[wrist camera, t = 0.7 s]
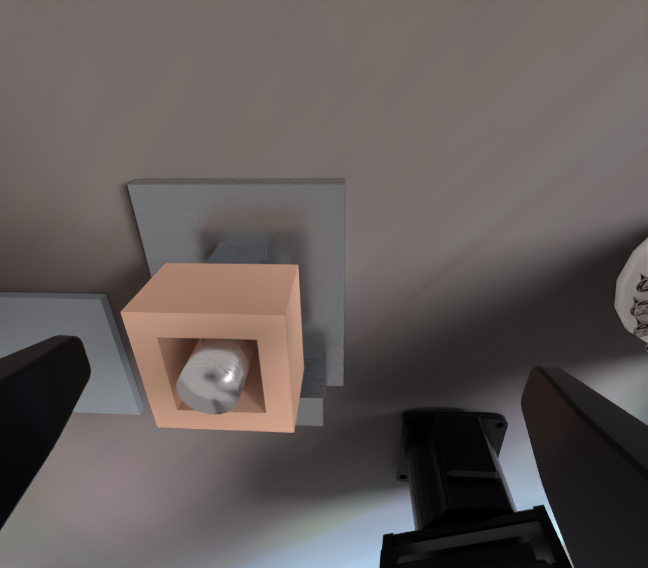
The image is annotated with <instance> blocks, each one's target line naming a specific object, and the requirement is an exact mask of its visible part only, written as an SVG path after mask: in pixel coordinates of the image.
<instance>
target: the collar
mask: <svg viewBox="0 0 648 568" xmlns="http://www.w3.org/2000/svg"><path fill="white" fill-rule="evenodd" d="M121 315H122V319H123V322H124V325H125V328H126V331H127V334H128V337H129V340H130V344H131V347H132V350H133V353H134V356H135V359H136V362H137V365H138V368H139V372H140V375H141V378H142V381H143V384H144V387H145V390H146V393H147V397H148V400H149V403H150V406H151V409H152V412H153V415H154V418H155V421H156V425H157V427H164V428H189V429H215V430H240V431H266V432H291V433H294V430H295V423H296V417H297V411H298V404H299V398H300V391H301V385H302V379H303V372H304V360H303V342H302V324H301V306H300V288H299V269H298V265H289V264H207V263H165V264H164V265H163V266H162V267H161V269H160V270H159V271H158V272H157V273H156V274H155V275H154V276H153V277H152V278H151V279H150V280H149V282H148V283H147V284H146V285H145V286H144V287H143V288H142V289H141V290H140V291H139V292H138V293H137V295H136V296H135V297H134V298H133V299H132V300H131V301H130V302H129V303H128V304H127V305H126V306H125V308H124V309H123V310H122V311H121ZM200 338H209V339H250V340H257V343H258V351H255V353H254V356H253V359H252V362H251V365H250V368H249V371H248V374H247V377H246V380H245V383H244V386H243V389H242V392H241V395H240V398H239V401H238V403H237V405H236V406H235V407H234V408H233V409H232V410H231V411H229V412H226V413H223V414H217V415H212V414H205V413H201V412H198V411H196V410H194V409H192V408H190V407H189V406H187V405H186V404H185V403H184V402H183V401H182V400H181V398H180V397H179V395H178V393H177V389H176V383H177V380H178V378H179V376H180V374H181V372H182V371H183V369H184V367H185V365H186V363H187V361H188V360H189V358H190V356H191V354H192V352H193V350H194V349H195V347H196V345H197V343H198V341H199V340H200Z"/></svg>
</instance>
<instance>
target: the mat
mask: <svg viewBox="0 0 648 568" xmlns="http://www.w3.org/2000/svg"><path fill="white" fill-rule="evenodd" d="M56 335H70V336H77V337H79V338H80V339H81V340H82V342H83V345H84V348H85V351H86V354H87V357H88V360H89V363H90V366H91V375H90V379H89V381H88V383H87V385H86V387H85V389H84V391H83V393H82V395H81V397H80V398H79V400H78V402H77V404H76V406H75V408H74V410H73V412H79V413H106V414H133V415H140V414H141V412H142V411H143V409H144V406H143V403H142V400H141V397H140V394H139V391H138V388H137V385H136V382H135V379H134V376H133V373H132V370H131V367H130V364H129V361H128V358H127V355H126V352H125V349H124V346H123V343H122V340H121V337H120V334H119V331H118V328H117V325H116V322H115V319H114V316H113V313H112V310H111V307H110V304H109V301H108V298H107V295H106V294H91V293H33V292H0V358H2V357H5V356H7V355H10V354H12V353H14V352H17V351H19V350H22V349H24V348H26V347H29V346H31V345H34V344H36V343H38V342H41V341H43V340H46V339H48V338H51V337H53V336H56Z"/></svg>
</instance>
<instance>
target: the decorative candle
mask: <svg viewBox="0 0 648 568" xmlns="http://www.w3.org/2000/svg"><path fill="white" fill-rule="evenodd" d="M614 307H615V309H616V311H617V313H618V315H619V317H620V319H621V321H622V323H623V325H624V327H625V328H626V329H627V330H628V331H629V332H631V333H632V334H634V335H635V336H637V337H639V338H640V339H642V340H644V341H645V342H647V343H648V238H646V239H645V240H644V241H643V242H642V243H641V244H640V245H639V246H638V247H637V248H635V249H634V250H633V252H632V254H631V255H630V257H629V259H628V261H627V262H626V264H625V266H624V268H623V269H622V271H621V273H620V275H619V276H618V278H617V281H616V292H615V302H614ZM645 350H646V351H647V352H648V344H647V345H646V346H645Z"/></svg>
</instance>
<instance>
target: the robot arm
mask: <svg viewBox="0 0 648 568" xmlns="http://www.w3.org/2000/svg"><path fill="white" fill-rule="evenodd" d="M90 375H91V366H90V363H89V360H88V357H87V354H86V351H85V348H84V345H83V342H82V340H81V339H80V338H79V337H77V336H70V335H56V336H53V337H51V338H48V339H46V340H43V341H41V342H38V343H36V344H34V345H31V346H29V347H26V348H24V349H22V350H19V351H17V352H14V353H12V354H10V355H7V356H5V357H2V358H0V531H1V529H2V527H3V526H4V524H5V523H6V521H7V520H8V518H9V517H10V515H11V514H12V512H13V510H14V509H15V507H16V506H17V504H18V503H19V501H20V500H21V498H22V496H23V495H24V493H25V492H26V490H27V489H28V487H29V486H30V484H31V483H32V481H33V479H34V478H35V476H36V475H37V473H38V472H39V470H40V469H41V467H42V465H43V464H44V462H45V461H46V459H47V458H48V456H49V454H50V453H51V451H52V449H53V448H54V446H55V444H56V442H57V441H58V439H59V437H60V435H61V433H62V431H63V429H64V427H65V426H66V424H67V422H68V420H69V418H70V416H71V414H72V412H73V410H74V408H75V406H76V404H77V402H78V400H79V398H80V397H81V395H82V393H83V391H84V389H85V387H86V385H87V383H88V381H89V379H90ZM521 407H522V412H523V416H524V419H525V423H526V427H527V430H528V434H529V438H530V442H531V445H532V449H533V453H534V457H535V460H536V464H537V468H538V472H539V475H540V478H541V482H542V485H543V488H544V491H545V493H546V496H547V499H548V502H549V504H550V507H551V509H552V512H553V514H554V517H555V520H556V522H557V525H558V527H559V530H560V533H561V535H562V538H563V540H564V543H565V546H566V548H567V551H568V553H569V556H570V559H571V561H572V564H573V566H574V568H648V425H646V424H645V423H643V422H642V421H640V420H639V419H637V418H635V417H634V416H632V415H631V414H629V413H628V412H626V411H625V410H623V409H622V408H620V407H619V406H617V405H616V404H614V403H613V402H611V401H610V400H608V399H607V398H605V397H603V396H602V395H600V394H599V393H597V392H596V391H594V390H593V389H591V388H590V387H588V386H587V385H585V384H584V383H582V382H581V381H579V380H578V379H576V378H575V377H573V376H572V375H570V374H568V373H567V372H565V371H564V370H562V369H561V368H559V367H556V366H545V365H536V366H534V367H533V368H532V369H531V372H530V374H529V377H528V380H527V383H526V386H525V389H524V391H523V394H522V398H521ZM409 419H412V420H409ZM507 426H508V423H507V421H506V418H505V417H504V416H502V415H492V414H464V413H435V412H406V413H404V414H403V415H402V419H401V428H400V437H399V446H398V455H397V464H396V478H397V480H399V481H402V482H409V488H410V495H411V503H412V510H413V518H414V525H415V531H410V532H405V533H399V534H393V533H389V534H384V535H383V544H382V550H381V555H380V568H572V566H571V564H570V561H569V559H568V557H567V555H566V553H565V551H564V548H563V546H562V544H561V542H560V540H559V537H558V535H557V533H556V531H555V529H554V527H553V524H552V522H551V520H550V518H549V516H548V513H547V511H546V509H545V507H544V505H539V506H533V509H528V510H523V511H518V512H517V509H516V506H515V504H514V501H513V498H512V496H511V493H510V490H509V487H508V485H507V482H506V479H505V476H504V474H503V471H502V468H501V465H500V463H499V460H498V456H499V453H500V450H501V446H502V443H503V440H504V436H505V433H506V430H507Z"/></svg>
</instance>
